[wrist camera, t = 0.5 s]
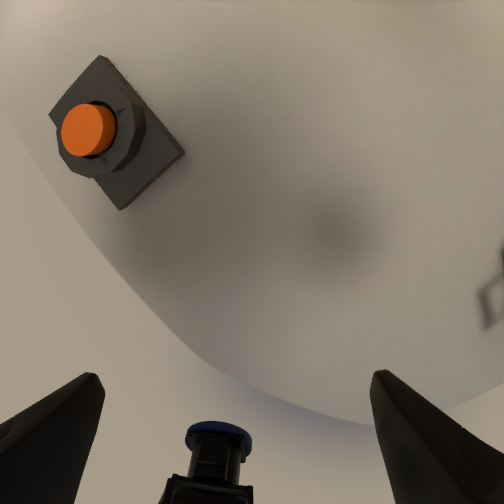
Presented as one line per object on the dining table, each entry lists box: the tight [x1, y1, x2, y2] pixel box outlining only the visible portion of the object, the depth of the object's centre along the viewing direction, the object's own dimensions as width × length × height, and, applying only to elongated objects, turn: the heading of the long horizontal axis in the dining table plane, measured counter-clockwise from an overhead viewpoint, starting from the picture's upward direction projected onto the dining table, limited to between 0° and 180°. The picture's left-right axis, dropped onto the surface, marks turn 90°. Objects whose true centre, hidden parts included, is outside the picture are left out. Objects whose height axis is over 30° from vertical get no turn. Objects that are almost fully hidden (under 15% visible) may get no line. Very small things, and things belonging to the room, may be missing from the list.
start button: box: [61, 104, 116, 156], centre depth 15 cm, size 3×3×2 cm
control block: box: [49, 55, 185, 211], centre depth 17 cm, size 10×6×3 cm, turn 38°
